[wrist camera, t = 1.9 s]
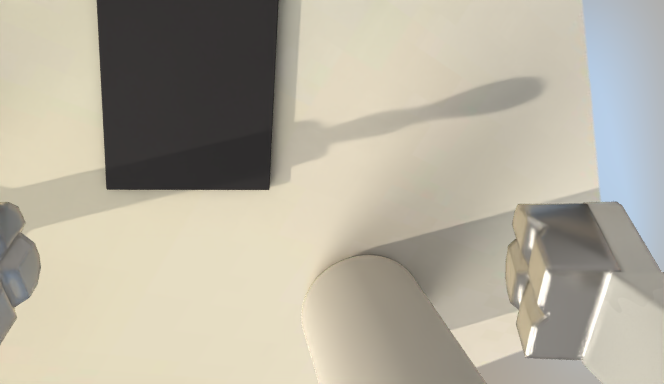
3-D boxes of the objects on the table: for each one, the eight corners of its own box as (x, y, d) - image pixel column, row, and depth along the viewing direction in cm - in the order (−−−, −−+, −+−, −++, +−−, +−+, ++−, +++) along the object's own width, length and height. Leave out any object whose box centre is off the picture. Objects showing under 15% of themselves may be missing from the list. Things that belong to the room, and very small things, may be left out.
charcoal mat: (94, -63, 45) (93, -63, 44) (279, -46, 48) (280, -46, 47) (107, 187, 52) (106, 189, 51) (268, 187, 55) (269, 190, 54)
